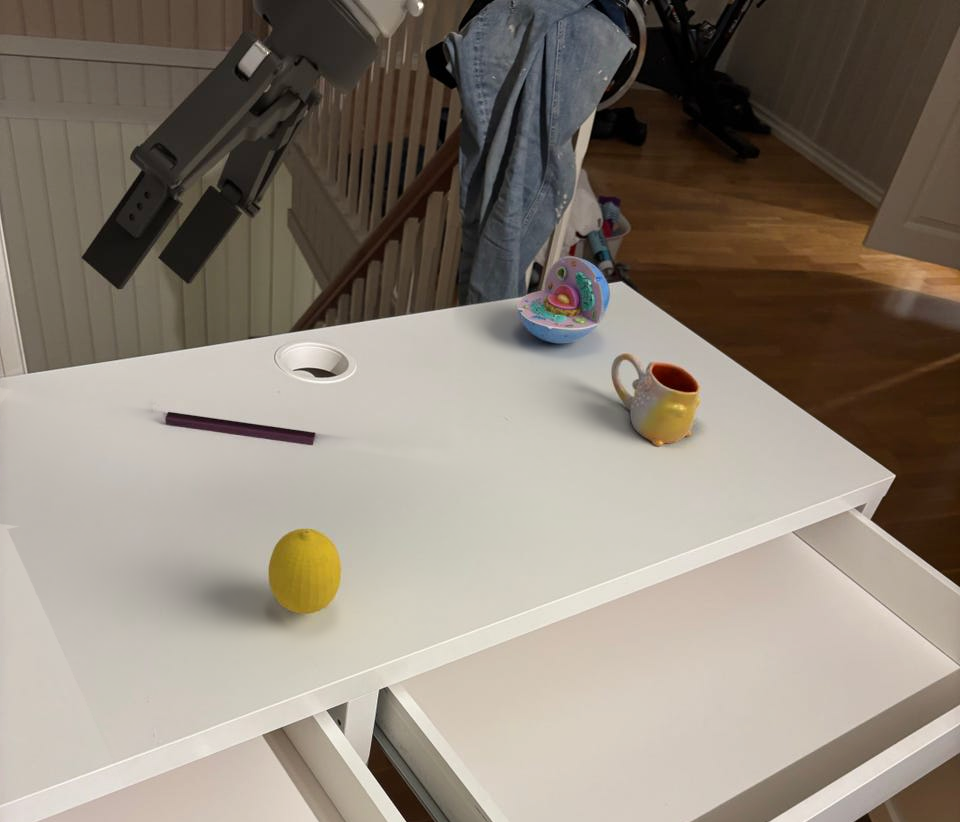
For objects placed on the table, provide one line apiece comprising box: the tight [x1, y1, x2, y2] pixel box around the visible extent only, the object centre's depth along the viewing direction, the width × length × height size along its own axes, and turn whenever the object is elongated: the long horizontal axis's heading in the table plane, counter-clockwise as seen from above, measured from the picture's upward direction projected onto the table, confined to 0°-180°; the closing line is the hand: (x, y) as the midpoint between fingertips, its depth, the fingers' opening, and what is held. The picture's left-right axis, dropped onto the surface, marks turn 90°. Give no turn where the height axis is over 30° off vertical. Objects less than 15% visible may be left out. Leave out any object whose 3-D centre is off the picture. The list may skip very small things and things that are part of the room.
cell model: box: [516, 255, 611, 344], centre depth 116 cm, size 10×12×10 cm
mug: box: [610, 352, 701, 447], centre depth 107 cm, size 12×7×7 cm, turn 35°
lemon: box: [267, 528, 342, 615], centre depth 75 cm, size 6×6×8 cm
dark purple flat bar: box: [164, 411, 316, 446], centre depth 95 cm, size 14×5×1 cm, turn 90°
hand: (141, 272), depth 66 cm, fingers open, 13 cm apart
